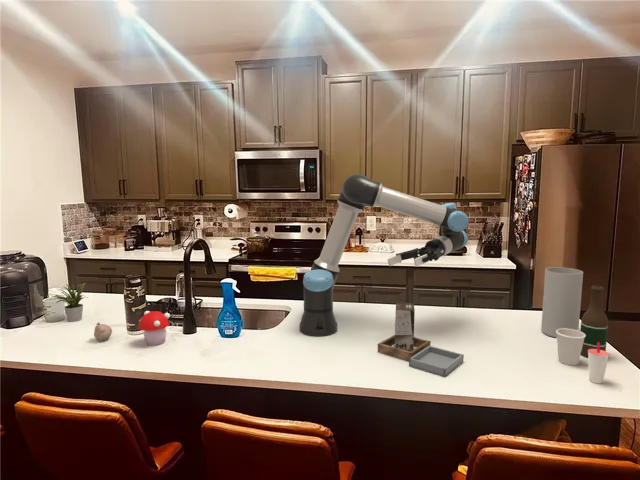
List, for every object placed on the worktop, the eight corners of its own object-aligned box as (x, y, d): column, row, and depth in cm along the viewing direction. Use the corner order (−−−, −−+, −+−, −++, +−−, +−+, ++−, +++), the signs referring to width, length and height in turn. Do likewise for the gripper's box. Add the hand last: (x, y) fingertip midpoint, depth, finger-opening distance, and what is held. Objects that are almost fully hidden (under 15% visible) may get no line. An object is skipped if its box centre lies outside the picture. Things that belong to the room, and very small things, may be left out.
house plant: (72, 313, 194) (69, 278, 192) (100, 314, 192) (98, 279, 190) (49, 323, 180) (45, 286, 178) (78, 325, 178) (75, 287, 176)
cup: (587, 383, 125) (590, 344, 123) (583, 375, 130) (586, 337, 128) (608, 386, 123) (612, 346, 121) (604, 378, 128) (607, 340, 126)
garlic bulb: (90, 341, 160) (88, 320, 159) (105, 335, 166) (104, 315, 165) (101, 344, 157) (99, 323, 156) (116, 338, 163) (115, 318, 162)
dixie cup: (548, 356, 144) (551, 328, 142) (574, 356, 143) (576, 328, 142) (562, 367, 135) (564, 337, 134) (588, 367, 135) (591, 337, 134)
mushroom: (176, 342, 158) (174, 311, 157) (147, 350, 151) (145, 318, 149) (162, 335, 166) (160, 305, 164) (134, 343, 158) (132, 311, 156)
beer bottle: (580, 357, 142) (586, 288, 139) (576, 349, 150) (581, 282, 146) (608, 361, 140) (614, 290, 136) (602, 352, 147) (608, 284, 143)
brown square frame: (377, 352, 148) (377, 343, 148) (398, 340, 159) (398, 332, 158) (411, 362, 140) (411, 353, 139) (430, 349, 150) (430, 341, 150)
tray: (409, 366, 137) (409, 358, 137) (428, 352, 148) (429, 345, 147) (445, 377, 129) (445, 369, 129) (463, 361, 140) (463, 354, 140)
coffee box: (413, 356, 144) (414, 310, 142) (394, 355, 146) (395, 309, 143) (413, 346, 153) (414, 303, 151) (395, 345, 154) (396, 302, 152)
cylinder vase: (581, 341, 157) (587, 275, 154) (544, 337, 161) (548, 272, 158) (573, 330, 169) (578, 268, 165) (538, 326, 173) (542, 266, 169)
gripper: (466, 256, 160) (429, 273, 148) (416, 256, 180) (380, 271, 169) (462, 237, 159) (425, 252, 147) (412, 239, 180) (376, 253, 168)
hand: (401, 262), depth 158 cm, fingers open, 13 cm apart
